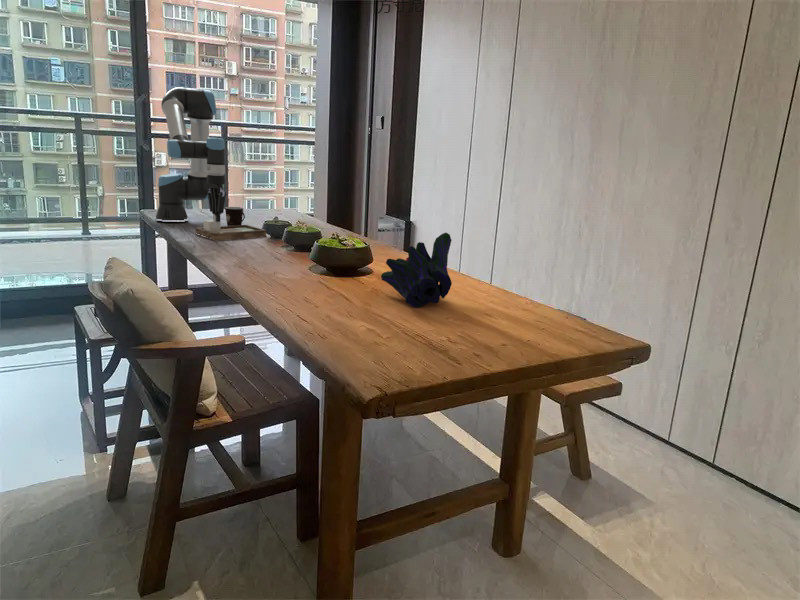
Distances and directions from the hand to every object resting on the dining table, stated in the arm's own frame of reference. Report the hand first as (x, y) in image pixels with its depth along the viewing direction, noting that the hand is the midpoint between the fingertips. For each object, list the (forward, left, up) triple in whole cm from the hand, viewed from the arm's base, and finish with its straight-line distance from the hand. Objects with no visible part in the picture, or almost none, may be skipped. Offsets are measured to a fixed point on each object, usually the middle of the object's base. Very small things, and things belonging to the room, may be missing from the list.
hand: (216, 228), depth 274 cm
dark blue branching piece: (+120, +3, -5) cm, 120 cm away
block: (-5, 0, -2) cm, 5 cm away
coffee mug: (-18, +20, -4) cm, 27 cm away
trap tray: (-3, +9, -4) cm, 10 cm away
